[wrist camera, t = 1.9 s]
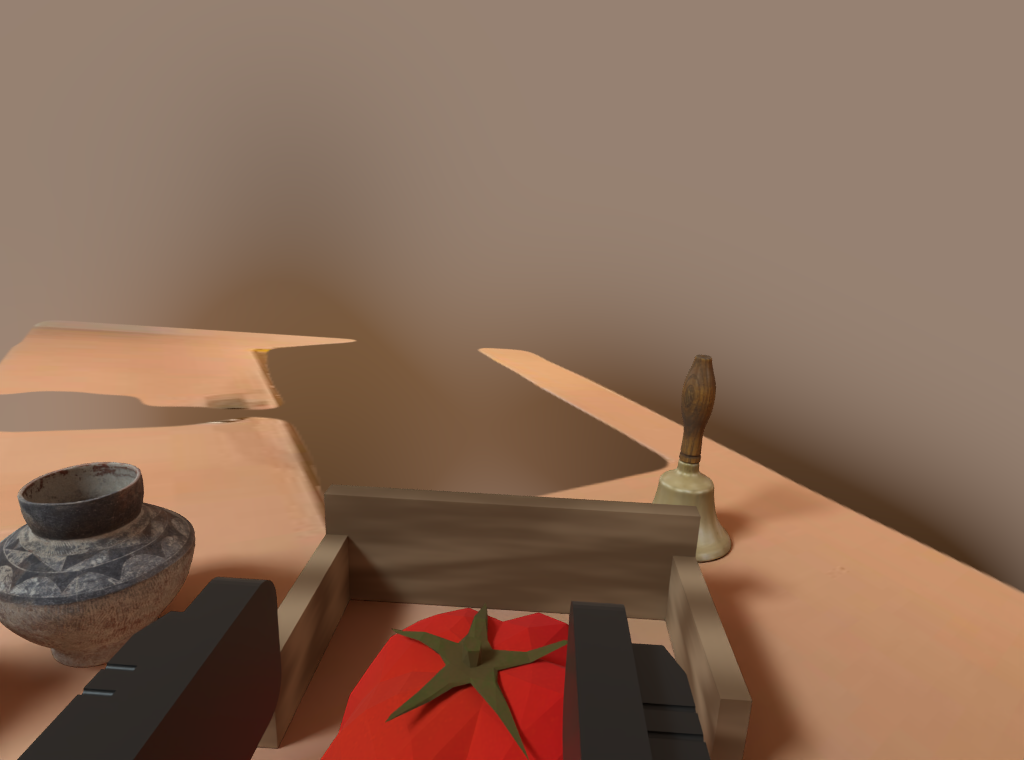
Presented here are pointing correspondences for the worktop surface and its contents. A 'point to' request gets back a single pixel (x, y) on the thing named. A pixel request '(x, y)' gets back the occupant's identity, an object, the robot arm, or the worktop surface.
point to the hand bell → (696, 463)
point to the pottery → (90, 562)
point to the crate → (513, 580)
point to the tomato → (461, 692)
